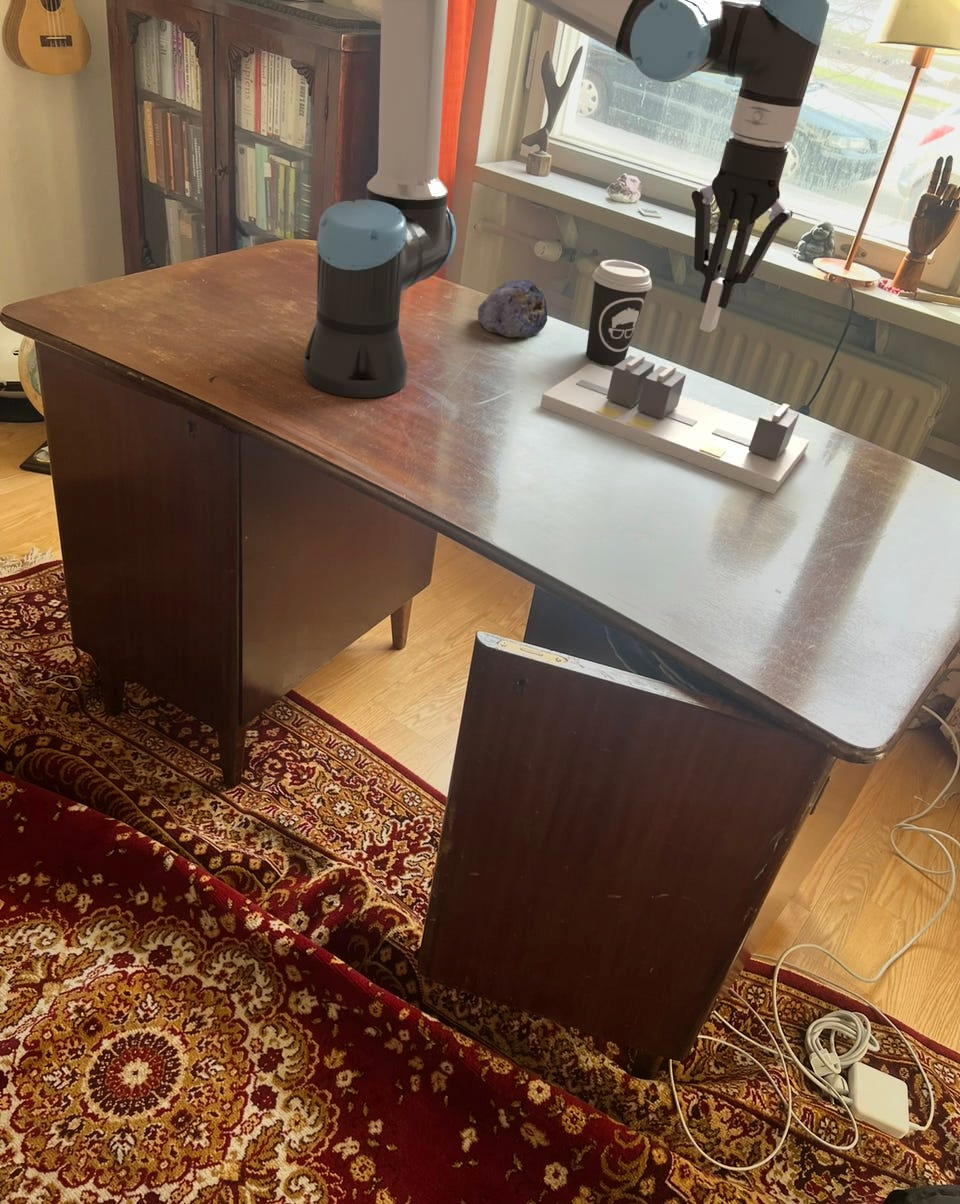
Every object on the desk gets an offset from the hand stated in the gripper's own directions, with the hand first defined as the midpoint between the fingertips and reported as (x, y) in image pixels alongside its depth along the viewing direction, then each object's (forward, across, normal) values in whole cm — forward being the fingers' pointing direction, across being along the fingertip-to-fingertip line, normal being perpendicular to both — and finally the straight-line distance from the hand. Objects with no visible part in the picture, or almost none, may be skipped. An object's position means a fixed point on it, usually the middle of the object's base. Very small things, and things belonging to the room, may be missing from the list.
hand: (707, 328), depth 126 cm
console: (+16, -1, 0) cm, 16 cm away
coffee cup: (+16, -20, +17) cm, 31 cm away
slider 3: (+13, +13, 0) cm, 19 cm away
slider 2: (+13, -4, 0) cm, 14 cm away
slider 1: (+13, -9, 0) cm, 16 cm away
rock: (+16, -38, +15) cm, 44 cm away
